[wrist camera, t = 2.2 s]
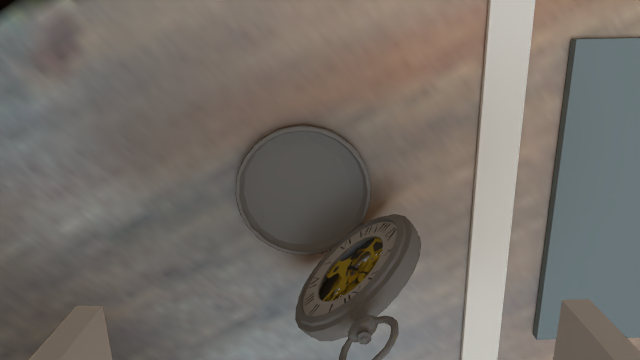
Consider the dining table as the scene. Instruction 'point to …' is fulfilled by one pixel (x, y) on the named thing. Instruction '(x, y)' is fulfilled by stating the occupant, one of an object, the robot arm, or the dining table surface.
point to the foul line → (495, 173)
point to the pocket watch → (328, 231)
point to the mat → (596, 189)
